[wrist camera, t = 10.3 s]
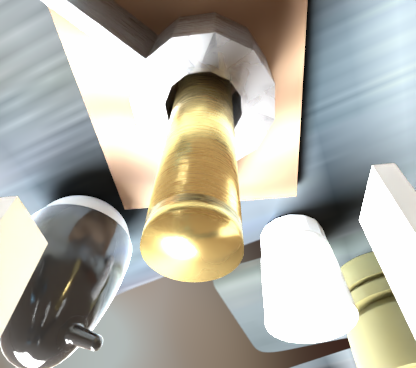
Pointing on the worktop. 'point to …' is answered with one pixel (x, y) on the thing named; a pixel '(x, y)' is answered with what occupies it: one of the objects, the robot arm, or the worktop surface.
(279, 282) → the white cup
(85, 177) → the worktop surface
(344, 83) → the worktop surface
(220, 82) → the pin
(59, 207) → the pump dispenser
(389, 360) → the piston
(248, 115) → the white piece
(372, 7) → the worktop surface
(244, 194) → the mount board
